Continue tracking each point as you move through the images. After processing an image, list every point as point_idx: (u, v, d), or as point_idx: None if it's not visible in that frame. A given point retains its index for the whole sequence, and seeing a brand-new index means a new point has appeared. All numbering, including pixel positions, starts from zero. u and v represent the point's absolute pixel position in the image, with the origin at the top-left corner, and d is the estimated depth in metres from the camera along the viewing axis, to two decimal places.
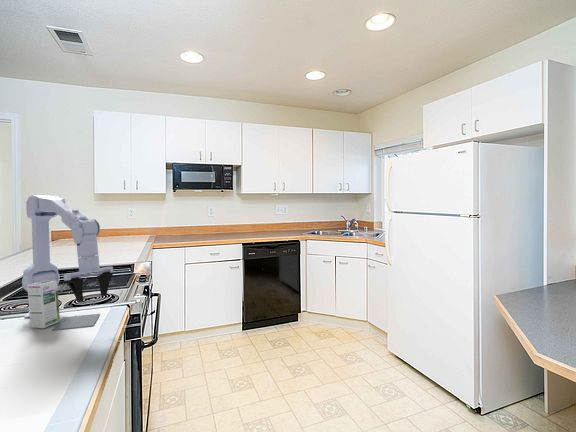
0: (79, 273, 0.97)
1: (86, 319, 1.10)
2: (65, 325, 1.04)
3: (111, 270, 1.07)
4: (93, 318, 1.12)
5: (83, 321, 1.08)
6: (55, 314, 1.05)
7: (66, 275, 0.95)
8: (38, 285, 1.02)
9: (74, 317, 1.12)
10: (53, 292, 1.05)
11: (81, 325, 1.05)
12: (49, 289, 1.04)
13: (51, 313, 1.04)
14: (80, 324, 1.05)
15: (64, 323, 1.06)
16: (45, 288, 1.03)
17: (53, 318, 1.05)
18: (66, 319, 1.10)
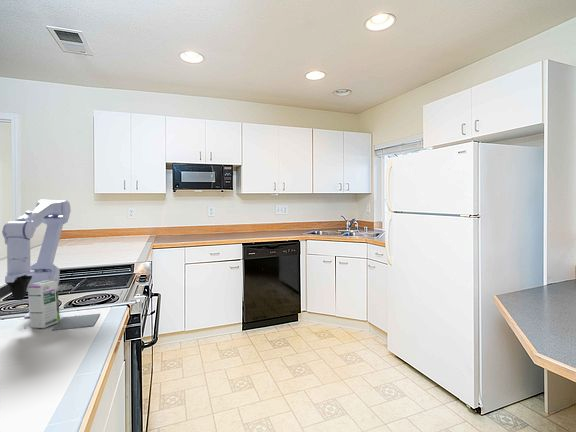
0: (20, 275, 0.98)
1: (86, 319, 1.10)
2: (65, 325, 1.04)
3: None
4: (93, 318, 1.12)
5: (83, 321, 1.08)
6: (55, 314, 1.05)
7: (11, 277, 0.95)
8: (38, 285, 1.02)
9: (74, 317, 1.12)
10: (53, 292, 1.05)
11: (81, 325, 1.05)
12: (49, 289, 1.04)
13: (51, 313, 1.04)
14: (80, 324, 1.05)
15: (64, 323, 1.06)
16: (45, 288, 1.03)
17: (53, 318, 1.05)
18: (66, 319, 1.10)
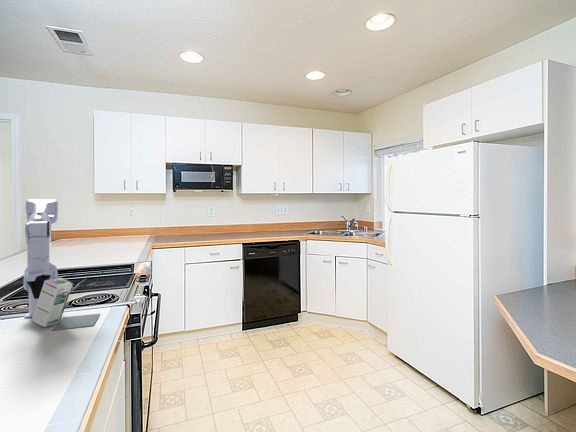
0: (40, 274, 1.00)
1: (86, 319, 1.10)
2: (65, 325, 1.04)
3: None
4: (93, 318, 1.12)
5: (83, 321, 1.08)
6: (59, 315, 1.05)
7: (32, 276, 0.97)
8: (55, 285, 1.01)
9: (74, 317, 1.12)
10: (65, 294, 1.05)
11: (81, 325, 1.05)
12: (63, 291, 1.04)
13: (56, 313, 1.04)
14: (80, 324, 1.05)
15: (64, 323, 1.06)
16: (60, 290, 1.02)
17: (55, 318, 1.05)
18: (66, 319, 1.10)
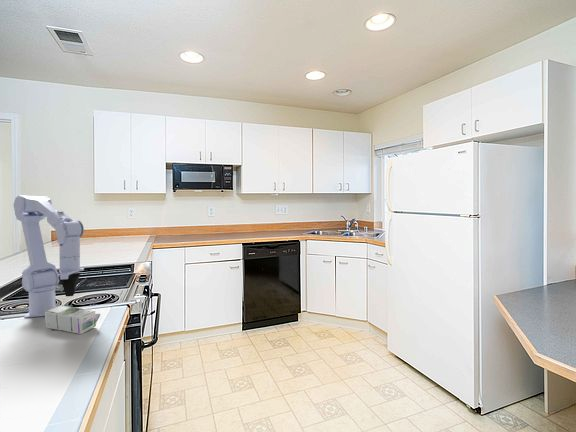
0: (72, 272, 1.04)
1: None
2: None
3: None
4: None
5: None
6: None
7: (66, 274, 1.00)
8: (80, 330, 0.98)
9: None
10: None
11: None
12: None
13: None
14: None
15: None
16: None
17: None
18: None
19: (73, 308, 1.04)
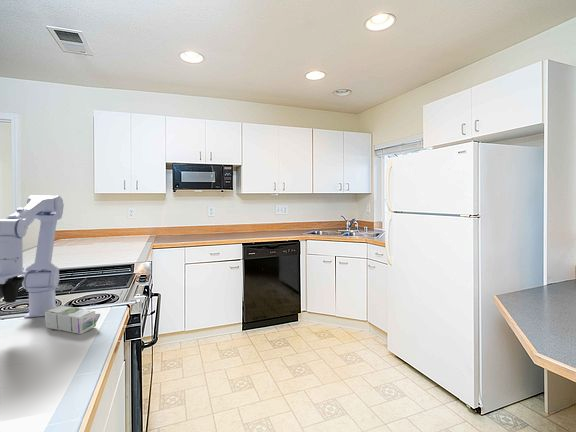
0: (11, 276, 0.93)
1: None
2: None
3: None
4: None
5: None
6: None
7: (1, 278, 0.90)
8: (80, 330, 0.98)
9: None
10: None
11: None
12: None
13: None
14: None
15: None
16: None
17: None
18: None
19: (73, 308, 1.04)
